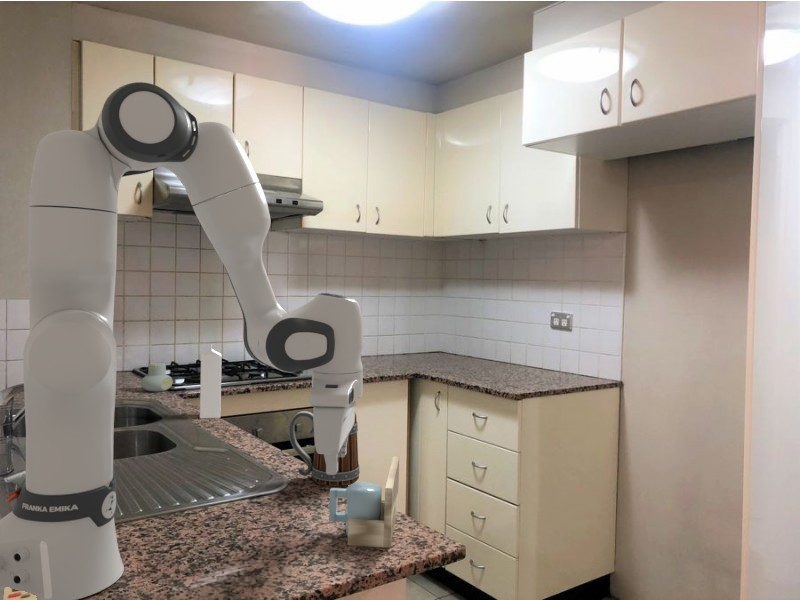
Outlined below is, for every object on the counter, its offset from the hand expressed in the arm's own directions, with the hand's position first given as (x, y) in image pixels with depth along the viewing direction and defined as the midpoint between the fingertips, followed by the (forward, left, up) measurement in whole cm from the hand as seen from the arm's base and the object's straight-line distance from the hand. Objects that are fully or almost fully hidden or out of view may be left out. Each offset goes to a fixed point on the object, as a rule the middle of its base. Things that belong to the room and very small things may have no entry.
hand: (336, 464), depth 107 cm
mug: (-7, +26, -12) cm, 30 cm away
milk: (-52, +77, -12) cm, 94 cm away
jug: (+4, 0, -12) cm, 12 cm away
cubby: (+7, +3, -12) cm, 14 cm away
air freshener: (-85, +111, -12) cm, 140 cm away
